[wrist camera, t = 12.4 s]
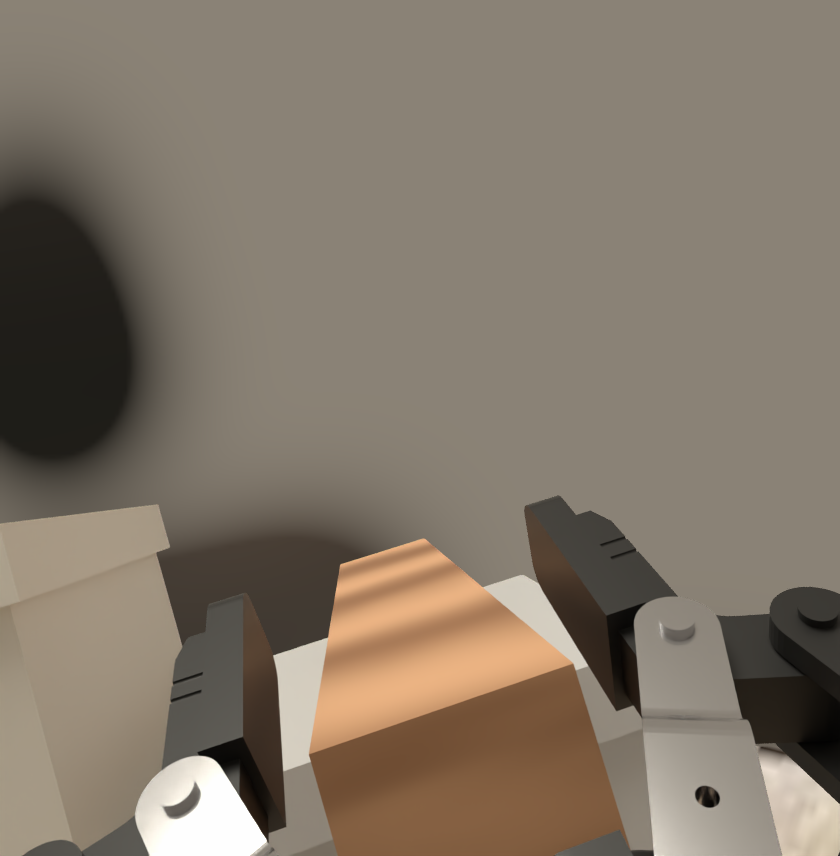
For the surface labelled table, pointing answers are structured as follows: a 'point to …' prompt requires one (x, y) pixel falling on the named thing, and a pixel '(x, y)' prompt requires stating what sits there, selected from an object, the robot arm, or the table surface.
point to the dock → (615, 730)
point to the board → (449, 721)
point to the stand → (81, 673)
